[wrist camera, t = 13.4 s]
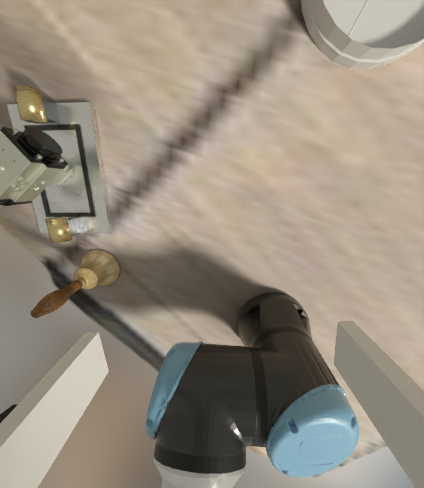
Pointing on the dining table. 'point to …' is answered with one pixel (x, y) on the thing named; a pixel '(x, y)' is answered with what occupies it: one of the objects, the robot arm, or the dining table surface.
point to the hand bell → (82, 280)
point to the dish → (364, 29)
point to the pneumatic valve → (29, 165)
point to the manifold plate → (81, 161)
